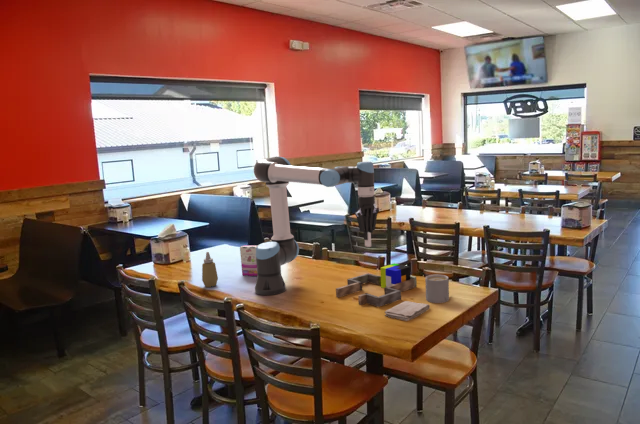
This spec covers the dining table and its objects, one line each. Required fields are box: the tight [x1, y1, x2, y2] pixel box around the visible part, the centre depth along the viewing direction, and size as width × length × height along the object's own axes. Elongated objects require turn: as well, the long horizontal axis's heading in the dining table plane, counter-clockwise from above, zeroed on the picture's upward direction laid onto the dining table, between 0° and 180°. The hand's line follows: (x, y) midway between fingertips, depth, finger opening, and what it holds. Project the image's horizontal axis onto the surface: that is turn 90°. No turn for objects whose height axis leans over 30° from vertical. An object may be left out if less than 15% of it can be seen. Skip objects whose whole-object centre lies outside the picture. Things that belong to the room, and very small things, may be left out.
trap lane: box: [335, 273, 418, 308], centre depth 249 cm, size 36×32×5 cm
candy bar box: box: [239, 244, 258, 277], centre depth 290 cm, size 11×5×16 cm, turn 68°
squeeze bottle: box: [201, 251, 219, 288], centre depth 273 cm, size 8×8×18 cm
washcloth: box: [384, 300, 430, 322], centre depth 220 cm, size 12×18×3 cm, turn 140°
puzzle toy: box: [379, 262, 411, 289], centre depth 254 cm, size 10×10×10 cm
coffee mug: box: [424, 273, 450, 304], centre depth 234 cm, size 13×10×10 cm
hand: (368, 246), depth 245 cm, fingers closed
